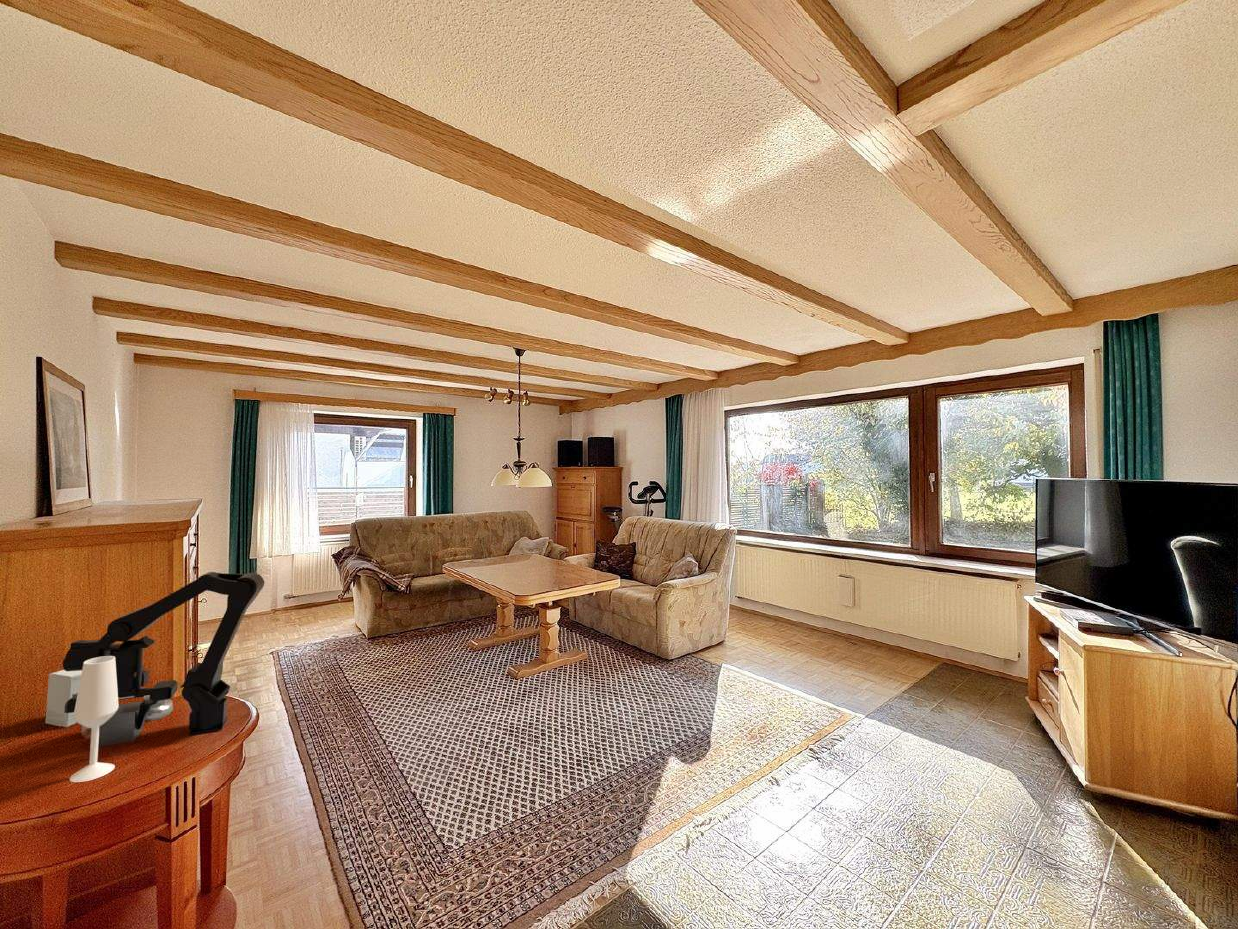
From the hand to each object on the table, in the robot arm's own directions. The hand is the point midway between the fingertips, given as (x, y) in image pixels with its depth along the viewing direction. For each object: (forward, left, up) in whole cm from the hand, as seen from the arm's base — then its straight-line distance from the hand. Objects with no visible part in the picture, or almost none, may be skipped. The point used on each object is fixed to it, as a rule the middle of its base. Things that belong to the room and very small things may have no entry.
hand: (122, 731), depth 119 cm
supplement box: (+14, -16, -2) cm, 21 cm away
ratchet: (+1, -9, -2) cm, 9 cm away
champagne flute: (0, +15, -2) cm, 15 cm away
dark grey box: (0, 0, -2) cm, 2 cm away
